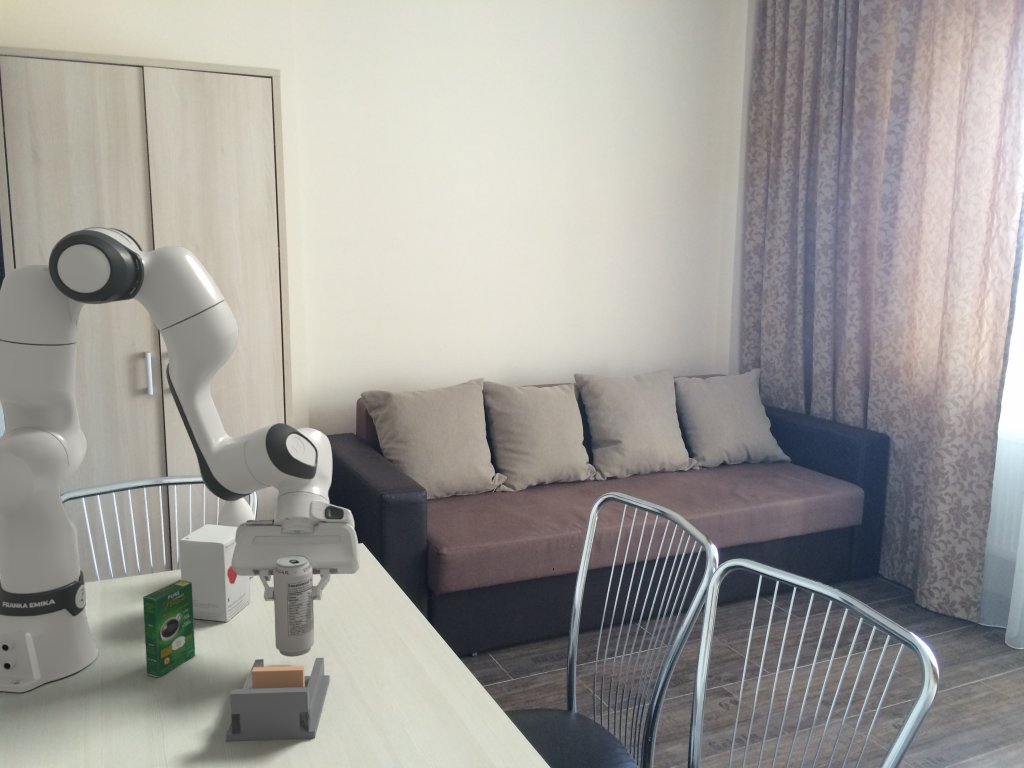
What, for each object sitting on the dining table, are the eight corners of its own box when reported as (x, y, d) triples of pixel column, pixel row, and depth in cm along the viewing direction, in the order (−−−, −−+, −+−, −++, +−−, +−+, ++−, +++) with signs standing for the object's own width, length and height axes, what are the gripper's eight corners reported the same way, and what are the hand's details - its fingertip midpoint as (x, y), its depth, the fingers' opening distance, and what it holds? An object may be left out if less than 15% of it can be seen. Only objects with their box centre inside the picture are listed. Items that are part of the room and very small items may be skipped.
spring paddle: (253, 707, 121) (251, 671, 120) (255, 703, 122) (253, 667, 121) (304, 706, 122) (302, 670, 121) (305, 701, 123) (304, 665, 122)
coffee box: (184, 651, 140) (179, 577, 137) (197, 655, 139) (193, 580, 136) (145, 674, 132) (140, 596, 130) (159, 678, 131) (154, 600, 129)
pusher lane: (226, 740, 115) (223, 694, 114) (251, 683, 130) (249, 641, 129) (314, 737, 116) (313, 691, 115) (329, 681, 131) (328, 639, 130)
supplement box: (227, 623, 150) (223, 544, 147) (182, 618, 152) (177, 539, 149) (252, 602, 159) (249, 526, 156) (209, 597, 160) (205, 522, 158)
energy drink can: (303, 637, 139) (300, 550, 137) (321, 650, 135) (319, 561, 132) (269, 648, 135) (266, 559, 133) (287, 662, 131) (284, 570, 128)
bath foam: (215, 574, 171) (210, 480, 168) (247, 565, 176) (243, 473, 172) (230, 585, 166) (225, 488, 163) (262, 575, 171) (258, 481, 167)
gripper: (234, 512, 137) (221, 593, 129) (360, 510, 139) (355, 590, 131) (241, 528, 142) (229, 607, 135) (363, 526, 144) (358, 605, 136)
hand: (292, 599), depth 133 cm, fingers closed on energy drink can, 6 cm apart
